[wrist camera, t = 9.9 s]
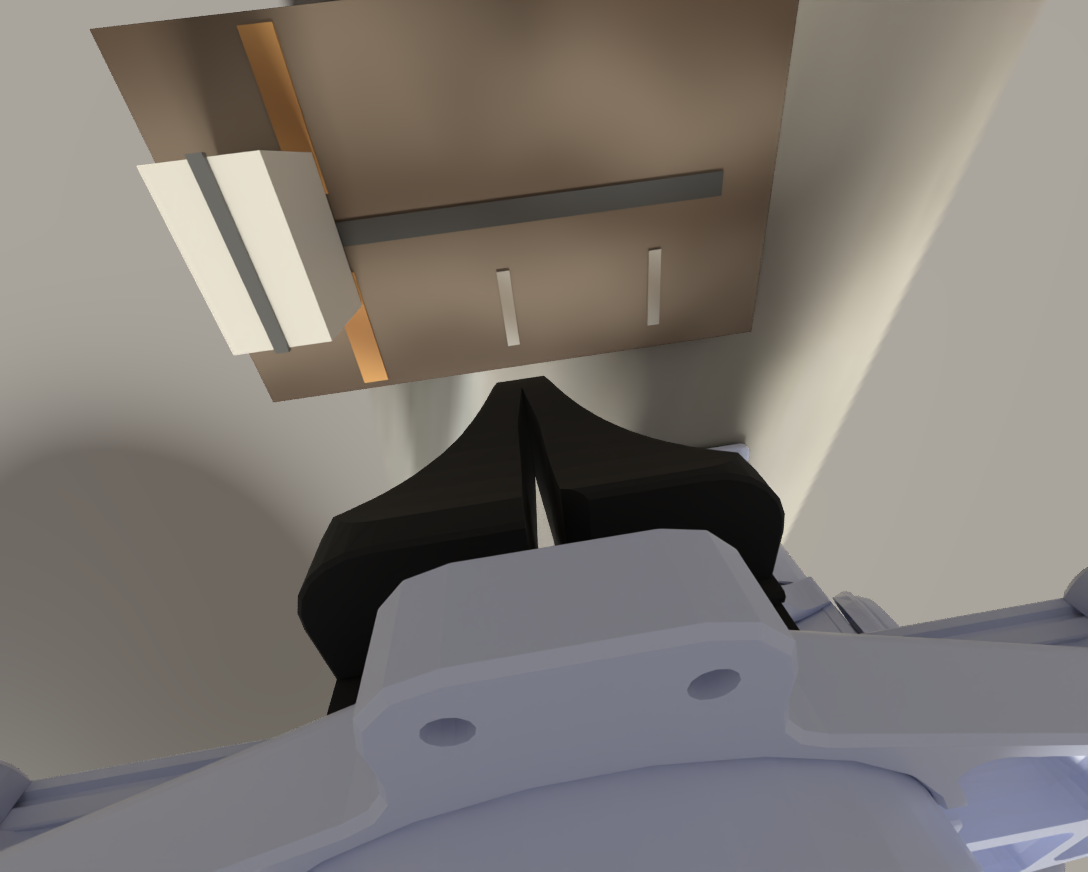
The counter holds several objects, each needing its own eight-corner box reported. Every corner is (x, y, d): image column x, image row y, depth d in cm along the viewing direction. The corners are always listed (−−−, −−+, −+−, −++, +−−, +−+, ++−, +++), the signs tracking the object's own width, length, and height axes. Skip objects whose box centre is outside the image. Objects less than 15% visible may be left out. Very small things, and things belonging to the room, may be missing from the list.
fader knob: (362, 308, 17) (331, 345, 14) (284, 319, 17) (232, 360, 14) (310, 148, 14) (254, 145, 11) (216, 161, 14) (129, 161, 11)
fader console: (735, 321, 21) (752, 332, 20) (286, 387, 20) (272, 403, 19) (778, -35, 15) (808, -55, 13) (125, 41, 14) (86, 28, 13)
